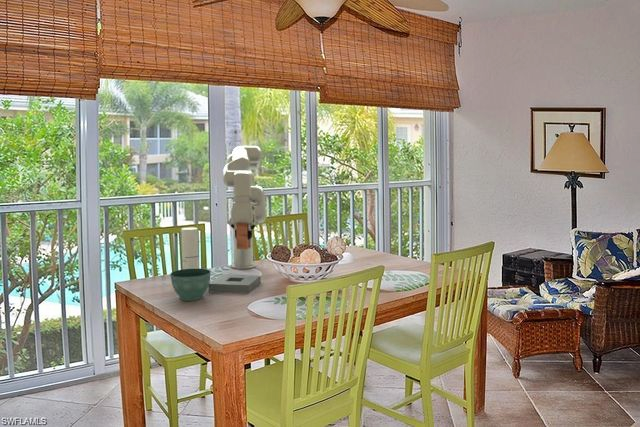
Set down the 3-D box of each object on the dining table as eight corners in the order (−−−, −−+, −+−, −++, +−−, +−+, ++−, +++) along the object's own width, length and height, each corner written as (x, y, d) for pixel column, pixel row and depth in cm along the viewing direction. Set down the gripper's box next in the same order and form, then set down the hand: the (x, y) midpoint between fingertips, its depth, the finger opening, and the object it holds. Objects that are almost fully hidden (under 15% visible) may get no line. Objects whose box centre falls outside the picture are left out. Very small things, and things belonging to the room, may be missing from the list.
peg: (240, 247, 284) (239, 221, 282) (250, 247, 283) (250, 221, 281) (236, 249, 279) (236, 222, 277) (247, 249, 278) (246, 223, 276)
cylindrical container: (195, 285, 273) (193, 230, 270) (180, 284, 274) (178, 229, 271) (201, 281, 280) (200, 227, 277) (187, 281, 281) (185, 227, 278)
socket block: (222, 281, 280) (222, 274, 279) (260, 283, 277) (260, 275, 276) (208, 291, 262) (208, 283, 262) (249, 293, 259) (248, 285, 259)
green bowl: (163, 299, 251) (162, 273, 250) (194, 291, 263) (193, 266, 262) (187, 305, 241) (186, 278, 239) (219, 297, 253) (218, 271, 252)
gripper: (263, 198, 280) (263, 238, 282) (227, 198, 283) (228, 237, 285) (258, 200, 273) (259, 240, 275) (221, 199, 276) (223, 239, 278)
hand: (243, 238), depth 280 cm, fingers closed on peg, 5 cm apart
